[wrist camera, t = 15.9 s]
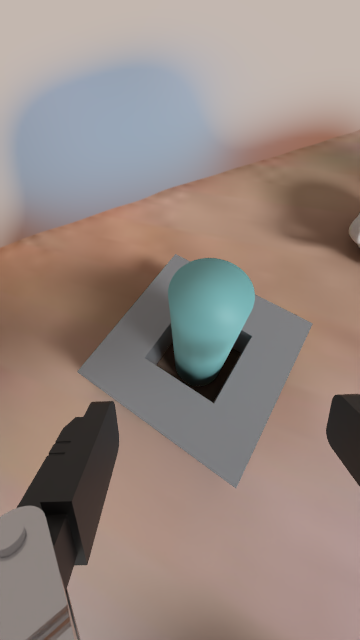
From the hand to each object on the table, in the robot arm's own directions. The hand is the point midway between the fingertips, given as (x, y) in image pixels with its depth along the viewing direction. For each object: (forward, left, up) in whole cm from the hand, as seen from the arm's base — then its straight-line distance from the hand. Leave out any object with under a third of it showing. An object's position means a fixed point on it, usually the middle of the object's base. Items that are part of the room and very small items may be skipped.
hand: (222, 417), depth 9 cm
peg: (-5, -3, -14) cm, 15 cm away
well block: (-5, -3, -14) cm, 15 cm away
